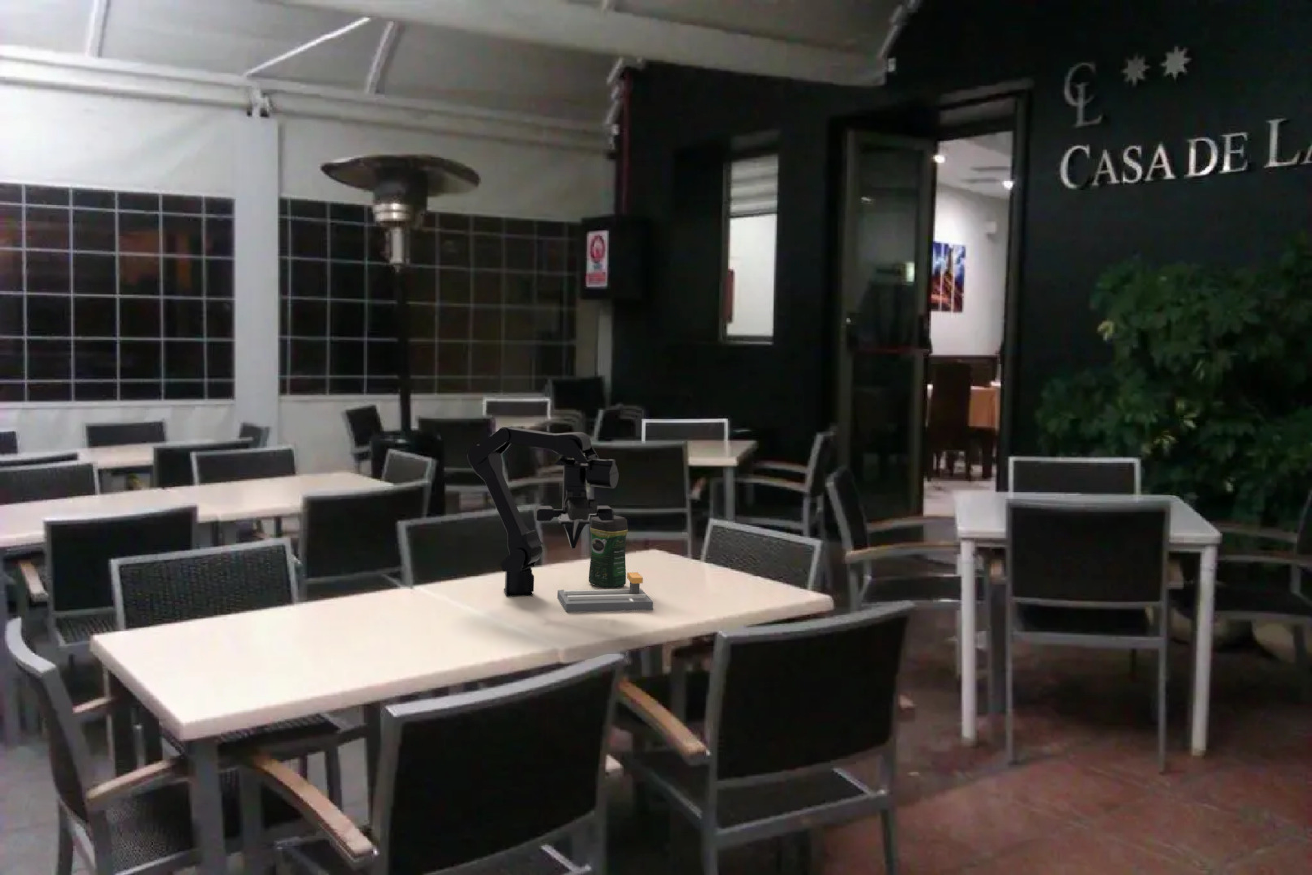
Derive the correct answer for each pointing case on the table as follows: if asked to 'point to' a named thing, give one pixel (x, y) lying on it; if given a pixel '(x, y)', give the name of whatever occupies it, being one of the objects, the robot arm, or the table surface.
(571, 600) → the console
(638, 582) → the fader
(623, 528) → the coffee jar
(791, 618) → the table surface
